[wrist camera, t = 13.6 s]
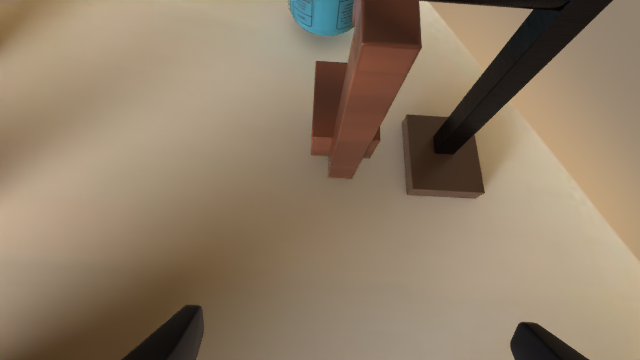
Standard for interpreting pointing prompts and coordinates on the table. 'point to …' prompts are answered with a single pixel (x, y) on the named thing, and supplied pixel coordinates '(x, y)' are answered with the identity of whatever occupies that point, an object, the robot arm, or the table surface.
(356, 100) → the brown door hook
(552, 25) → the rack
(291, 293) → the table surface
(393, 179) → the table surface
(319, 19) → the beverage bottle
